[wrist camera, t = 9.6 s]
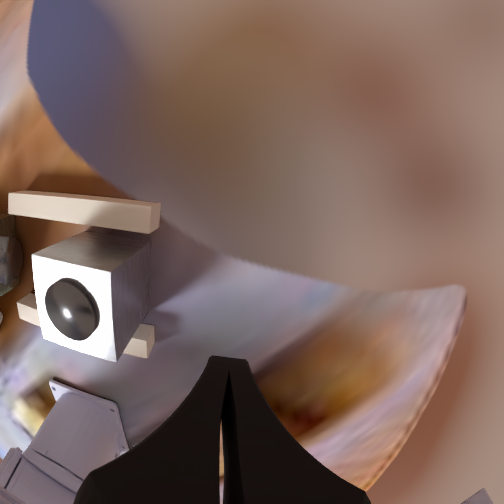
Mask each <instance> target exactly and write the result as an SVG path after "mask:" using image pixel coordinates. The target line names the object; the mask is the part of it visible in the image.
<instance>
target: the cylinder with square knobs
mask: <svg viewBox="0 0 504 504" xmlns="http://www.w3.org/2000/svg"><path fill="white" fill-rule="evenodd" d="M22 262H23V253H22V248H21V245H20V243H19V241H18V240H17V239H16V236H15V215H13V214H6V213H0V296H2V295H4V294H5V293H7V292H8V291H10V290H12V289H13V288H15V287H16V286H18V285H20V280H19V274H20V271H21V268H22Z"/></svg>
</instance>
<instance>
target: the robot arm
mask: <svg viewBox="0 0 504 504" xmlns="http://www.w3.org/2000/svg"><path fill="white" fill-rule="evenodd" d="M49 384H50V387H51V390H52V392H53V395H54V397H55V400H56V403H55V405H54V406H53V408H52V409H51V411H50V413H49V414H48V416H47V417H46V419H45V420H44V422H43V424H42V425H41V427H40V428H39V430H38V432H37V433H36V435H35V437H34V438H33V440H32V442H31V443H30V445H29V447H28V448H27V449H26V450H25V451H24V453H23V454H22V452H23V451H22V450H21V449H20V448H18V447H17V448H10V450H9V451H8V453H7V455H6V456H5V458H4V460H3V461H2V463H1V465H0V504H220V491H219V452H220V423H221V418H222V439H223V456H224V490H223V504H371V502H370V500H369V498H368V497H367V495H366V492H365V491H363V490H361V489H360V488H358V487H356V486H354V485H352V484H351V483H349V482H347V481H345V480H344V479H342V478H340V477H339V476H337V475H336V474H334V473H333V472H332V471H330V470H329V469H328V468H326V467H325V466H324V465H322V464H321V463H320V462H319V461H318V460H316V459H315V458H314V457H313V456H312V455H311V454H310V453H308V452H307V451H306V450H305V449H304V448H303V447H302V446H301V445H300V444H299V443H298V442H297V441H296V440H295V439H294V438H293V436H292V435H291V434H290V433H289V432H288V431H287V429H286V428H285V427H284V426H283V424H282V423H281V422H280V420H279V419H278V418H277V416H276V415H275V413H274V412H273V411H272V409H271V407H270V406H269V404H268V403H267V401H266V399H265V398H264V396H263V394H262V392H261V391H260V389H259V387H258V385H257V383H256V381H255V379H254V376H253V374H252V372H251V369H250V367H249V364H248V362H247V361H246V360H245V359H236V358H228V357H220V356H211V357H209V360H208V363H207V365H206V367H205V369H204V371H203V373H202V375H201V377H200V378H199V380H198V381H197V383H196V384H195V386H194V388H193V389H192V390H191V392H190V393H189V395H188V396H187V397H186V398H185V400H184V401H183V402H182V403H181V405H180V406H179V407H178V408H177V409H176V410H175V412H174V413H173V414H172V415H171V416H170V417H169V418H168V419H167V420H166V421H165V422H164V423H163V424H162V425H161V426H160V427H159V428H157V429H156V430H155V431H154V432H153V433H152V434H151V435H149V436H148V437H147V438H146V439H144V440H143V441H142V442H140V443H139V444H137V445H136V446H135V447H133V448H132V449H130V450H129V448H128V444H127V441H126V437H125V434H124V430H123V427H122V423H121V419H120V415H119V411H118V406H117V405H116V403H114V402H112V401H109V400H106V399H103V398H100V397H97V396H94V395H91V394H88V393H85V392H82V391H80V390H77V389H74V388H72V387H69V386H67V385H64V384H62V383H59V382H57V381H55V380H52V379H51V380H50V381H49ZM120 452H122V453H124V454H123V455H121V456H119V455H120ZM461 504H493V502H492V500H491V499H490V497H489V495H488V494H487V492H486V490H485V489H484V488H483V489H481V490H480V491H478V492H477V493H475V494H474V495H472V496H471V497H469V498H468V499H466V500H465V501H464V502H462V503H461Z"/></svg>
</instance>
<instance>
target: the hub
mask: <svg viewBox="0 0 504 504" xmlns="http://www.w3.org/2000/svg"><path fill="white" fill-rule="evenodd" d="M150 251H151V241H145V240H139V239H132V238H126V237H120V236H113V235H107V234H101V233H94V232H88V231H85V232H82V233H80V234H77V235H75V236H72V237H70V238H68V239H65V240H63V241H61V242H58V243H56V244H53V245H51V246H49V247H47V248H44V249H42V250H40V251H38V252H35V253H33V254H32V266H33V276H34V285H35V293H36V299H37V306H38V311H39V317H40V322H41V327H42V332H43V336H44V338H45V339H48V340H50V341H53V342H55V343H58V344H61V345H63V346H66V347H69V348H72V349H74V350H77V351H80V352H83V353H86V354H89V355H93V356H96V357H99V358H102V359H106V360H109V361H113V362H116V363H117V361H118V360H119V358H120V356H121V355H122V353H123V351H124V350H125V348H126V346H127V345H128V343H129V342H130V340H131V338H132V337H133V335H134V333H135V332H136V330H137V329H138V327H139V325H140V324H141V322H142V321H143V319H144V318H145V316H146V314H147V313H148V295H149V268H150Z"/></svg>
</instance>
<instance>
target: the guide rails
mask: <svg viewBox="0 0 504 504" xmlns="http://www.w3.org/2000/svg"><path fill="white" fill-rule="evenodd" d="M160 213H161V203H155V202H146V201H138V200H129V199H119V198H110V197H100V196H89V195H79V194H67V193H54V192H41V191H18V192H12V193H9V196H8V214H14V215H21V216H28V217H35V218H42V219H49V220H56V221H63V222H70V223H77V224H84V225H91V226H98V227H105V228H111V229H118V230H125V231H132V232H139V233H146V234H150V233H151V232H153V231H154V230H156V229H157V228H159V222H160ZM17 307H18V312H19V316H20V319H23V320H25V321H27V322H30V323H32V324H35V325H37V326H40V327H41V322H40V317H39V311H38V306H37V299H36V295H35V294H32V293H29V294H28V295H26V296H25V297H23V298H22V299H20V300H19V301H17ZM154 343H155V334H154V326H152V325H147V324H142V323H141V324H140V325H139V327H138V329H137V330H136V332H135V333H134V335H133V337H132V338H131V340H130V342H129V343H128V345H127V346H126V348H125V350H124V351H123V353H125V354H129V355H133V356H137V357H141V358H146V359H147V358H148V356H149V354H150V352H151V350H152V348H153V345H154Z"/></svg>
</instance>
